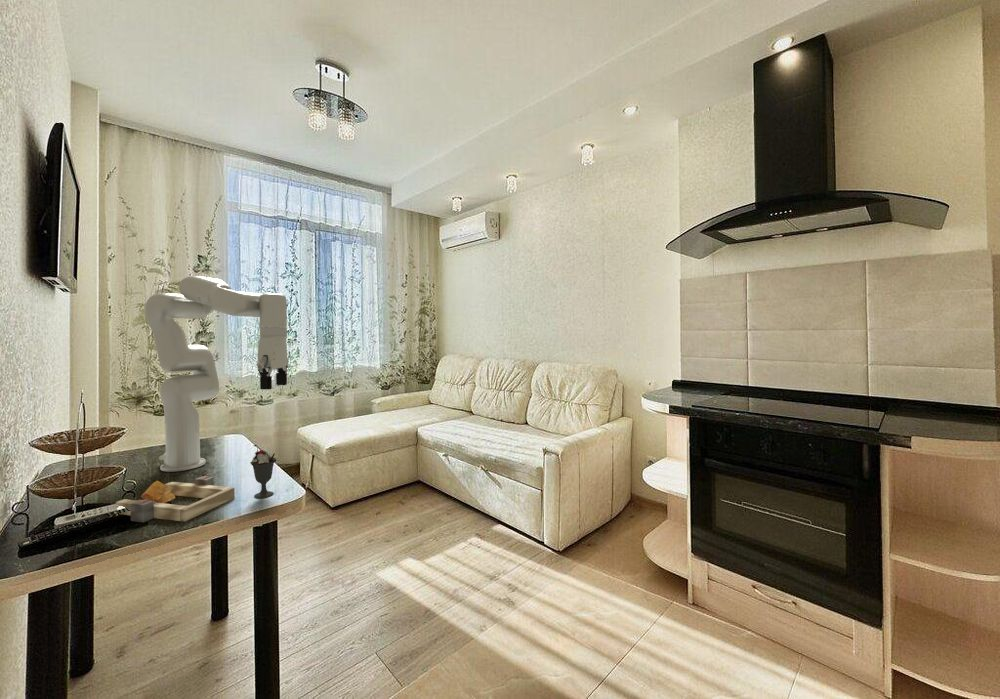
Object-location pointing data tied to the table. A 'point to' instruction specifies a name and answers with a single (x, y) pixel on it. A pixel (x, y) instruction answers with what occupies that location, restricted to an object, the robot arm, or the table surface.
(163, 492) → the pyrite
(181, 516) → the light wooden frame
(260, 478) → the sundae
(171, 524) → the table surface
